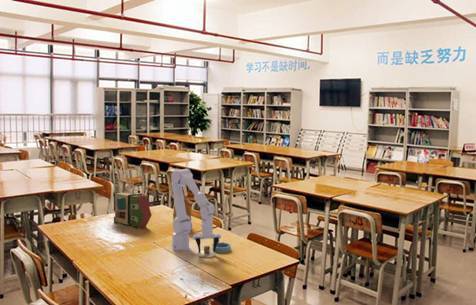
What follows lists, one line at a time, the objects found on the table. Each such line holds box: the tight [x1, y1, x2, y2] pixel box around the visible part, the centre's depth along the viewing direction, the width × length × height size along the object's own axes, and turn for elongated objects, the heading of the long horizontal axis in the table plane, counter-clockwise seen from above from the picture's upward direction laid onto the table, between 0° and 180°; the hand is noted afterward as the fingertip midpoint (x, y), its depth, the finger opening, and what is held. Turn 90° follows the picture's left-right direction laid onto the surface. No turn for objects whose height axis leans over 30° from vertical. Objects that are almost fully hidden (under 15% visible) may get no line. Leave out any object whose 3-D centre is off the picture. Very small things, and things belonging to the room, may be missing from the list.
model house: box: [113, 191, 153, 230], centre depth 283 cm, size 21×9×30 cm
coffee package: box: [172, 194, 192, 226], centre depth 283 cm, size 10×12×22 cm
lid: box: [197, 245, 216, 259], centre depth 231 cm, size 9×9×4 cm
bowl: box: [211, 241, 232, 254], centre depth 240 cm, size 10×10×3 cm
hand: (206, 251), depth 231 cm, fingers open, 7 cm apart
